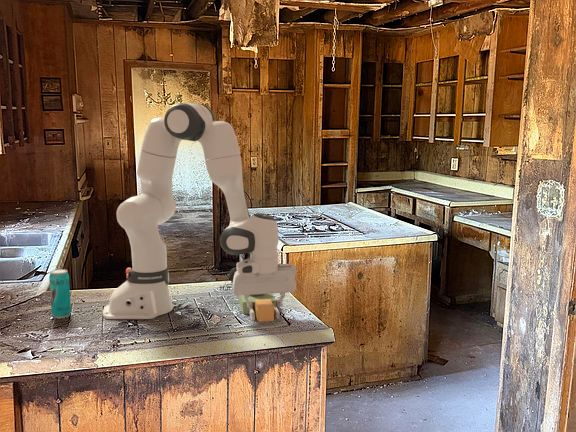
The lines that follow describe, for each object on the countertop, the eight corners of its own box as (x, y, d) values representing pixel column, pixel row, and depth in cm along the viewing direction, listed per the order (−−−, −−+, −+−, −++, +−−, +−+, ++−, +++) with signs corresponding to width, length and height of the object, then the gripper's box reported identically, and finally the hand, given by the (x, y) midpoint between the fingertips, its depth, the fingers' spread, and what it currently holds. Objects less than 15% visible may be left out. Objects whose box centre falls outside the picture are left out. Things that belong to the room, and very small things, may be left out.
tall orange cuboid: (258, 322, 169) (258, 306, 168) (255, 314, 175) (254, 299, 174) (274, 320, 170) (273, 305, 169) (270, 313, 176) (270, 298, 176)
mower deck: (245, 321, 169) (245, 293, 167) (238, 300, 189) (237, 275, 187) (279, 318, 171) (279, 291, 170) (268, 298, 191) (268, 274, 189)
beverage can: (49, 316, 172) (45, 271, 170) (66, 312, 176) (63, 267, 174) (56, 320, 168) (53, 274, 166) (74, 316, 172) (71, 271, 170)
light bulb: (232, 296, 193) (232, 270, 191) (227, 292, 198) (226, 266, 196) (247, 294, 195) (246, 268, 194) (241, 290, 200) (240, 264, 199)
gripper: (294, 260, 175) (293, 301, 177) (231, 263, 171) (232, 305, 173) (298, 265, 169) (298, 307, 171) (233, 268, 165) (234, 311, 167)
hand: (264, 306), depth 172 cm, fingers open, 8 cm apart
